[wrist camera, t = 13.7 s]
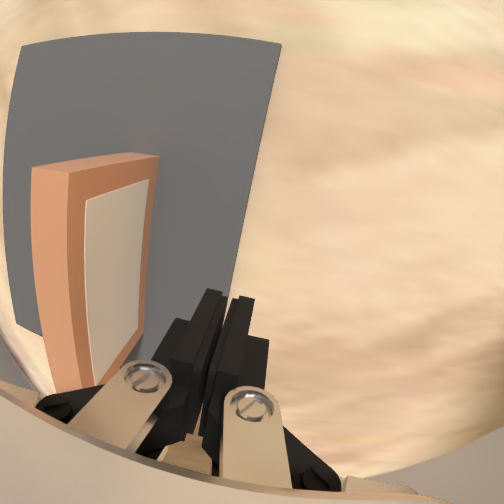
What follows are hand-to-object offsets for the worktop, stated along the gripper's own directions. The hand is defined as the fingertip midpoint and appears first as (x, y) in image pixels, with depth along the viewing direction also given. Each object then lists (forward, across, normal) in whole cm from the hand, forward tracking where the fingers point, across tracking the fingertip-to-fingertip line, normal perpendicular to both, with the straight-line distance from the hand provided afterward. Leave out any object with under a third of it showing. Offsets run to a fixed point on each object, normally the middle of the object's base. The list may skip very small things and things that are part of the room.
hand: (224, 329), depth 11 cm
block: (+5, +6, 0) cm, 8 cm away
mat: (+5, +8, -1) cm, 10 cm away
